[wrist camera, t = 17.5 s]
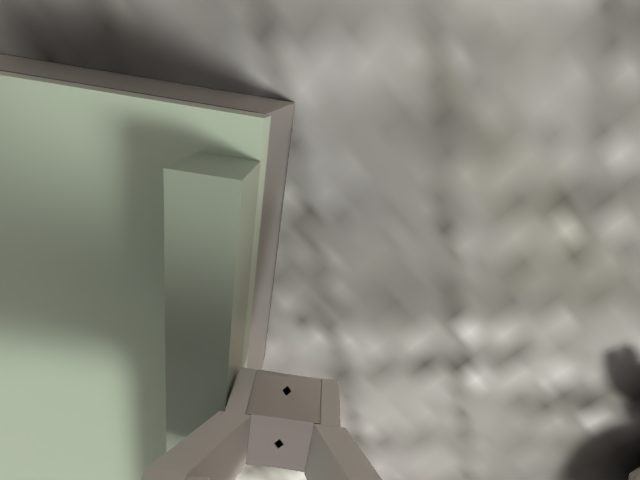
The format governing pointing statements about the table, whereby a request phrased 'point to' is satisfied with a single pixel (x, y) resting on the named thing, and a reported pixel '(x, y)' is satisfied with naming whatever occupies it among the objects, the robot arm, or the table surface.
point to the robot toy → (634, 474)
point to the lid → (120, 272)
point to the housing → (275, 108)
